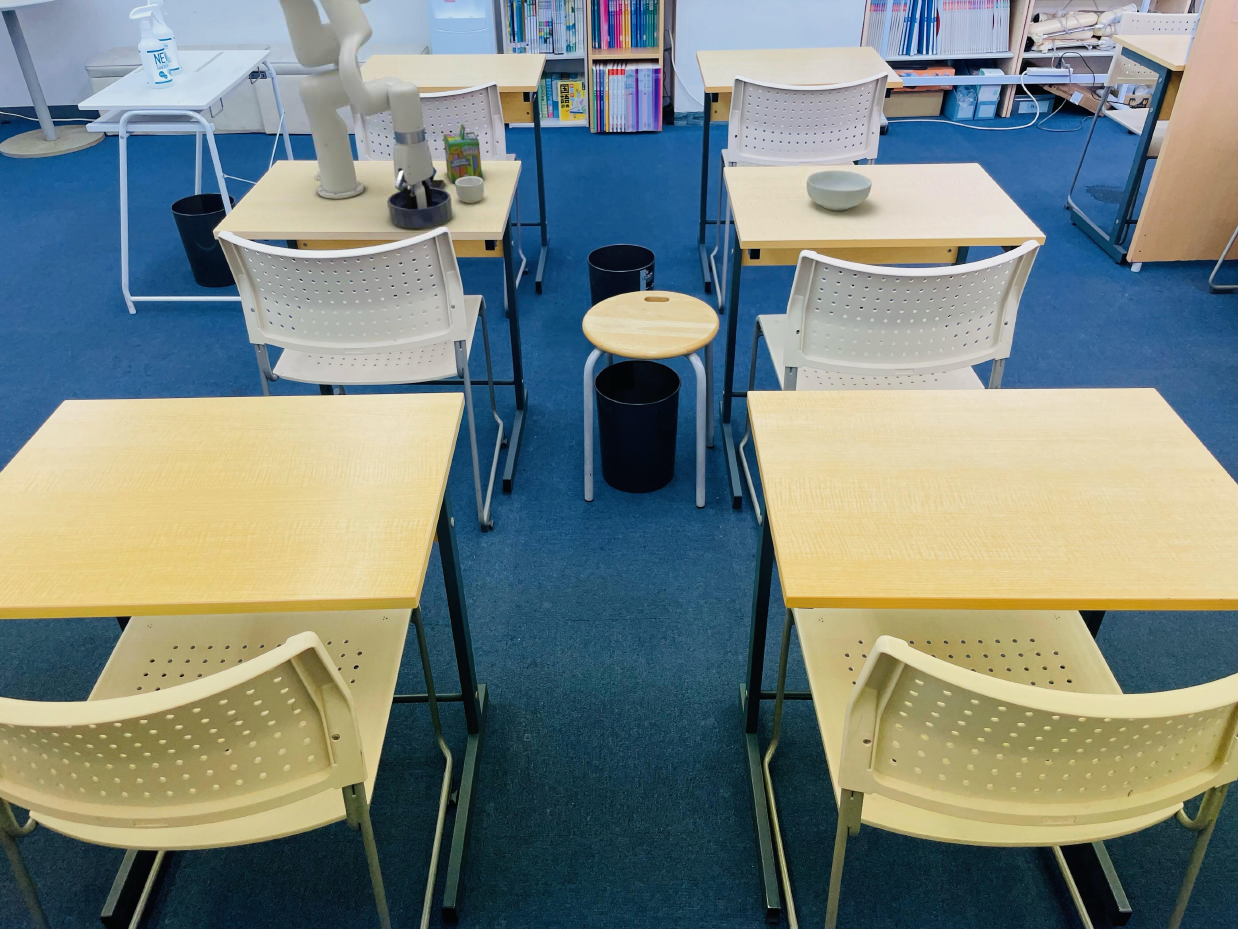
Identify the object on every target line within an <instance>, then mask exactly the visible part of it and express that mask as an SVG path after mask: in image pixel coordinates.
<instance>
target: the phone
mask: <svg viewBox="0 0 1238 929" xmlns="http://www.w3.org/2000/svg"><path fill="white" fill-rule="evenodd" d="M445 186H446V184H445V180H443V179H433V182H432V188H437V189H442V190H444V189H443V188H444V187H445Z"/></svg>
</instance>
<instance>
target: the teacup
mask: <svg viewBox="0 0 1238 929" xmlns="http://www.w3.org/2000/svg"><path fill="white" fill-rule="evenodd" d="M454 186H455V192H456V195H457V197H458V199H459V200H460V201H461V202H463V203H465V204H474V203H478V202H480V201H481V200H482V199H483V196H484V192H485V183H484V179H483V177H482V178H480V177H475V176H468V177H462V178H459V179H457V180H456V181H455V183H454Z"/></svg>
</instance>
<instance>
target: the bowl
mask: <svg viewBox="0 0 1238 929" xmlns="http://www.w3.org/2000/svg"><path fill="white" fill-rule="evenodd" d="M408 189H409V190H410V188H408ZM431 195H432V202H433V203H432V204H427V208H422V209H408V208H407V202H406V196H405V195H403V193H402V192H401V191H399V190H398V191H397V192H395V193H392V194H391V195H390V196H388V197H387V200H386V201H387V209H388V214H389V215H388V216H389V220H390V221H391V223H392V224H394V225H396V226H398V227H402V228H408V229H425V228H432V227H435V226H439V225H443V224H445V223H447V222H448V221H449V220H451V218H453V214H454V213H453V206H452V204H453V203H452V197H451V194H450V193H449V192H448V191H447V190H445V189H437V188H431Z"/></svg>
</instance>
